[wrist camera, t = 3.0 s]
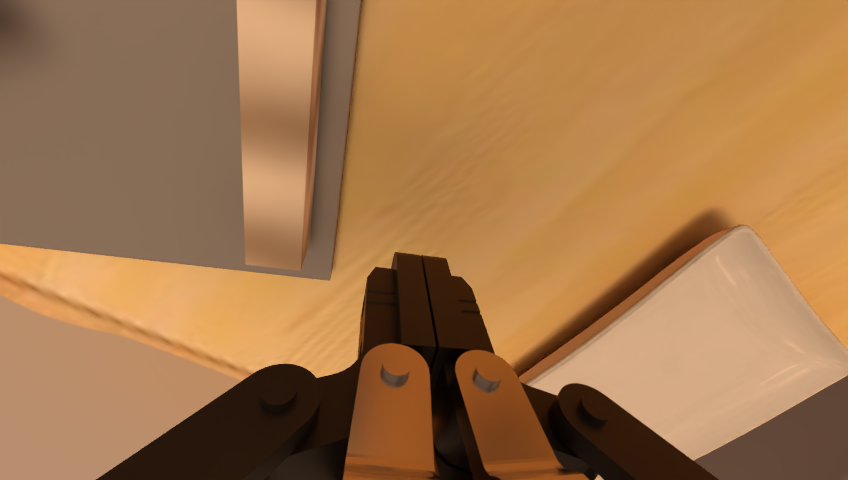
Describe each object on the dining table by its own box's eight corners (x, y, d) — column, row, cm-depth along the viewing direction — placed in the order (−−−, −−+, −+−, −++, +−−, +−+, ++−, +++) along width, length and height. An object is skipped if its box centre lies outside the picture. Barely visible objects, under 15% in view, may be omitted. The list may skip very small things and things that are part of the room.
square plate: (707, 198, 27) (752, 222, 24) (825, 341, 38) (867, 371, 34) (467, 392, 36) (475, 429, 33) (616, 463, 47) (633, 497, 44)
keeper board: (-432, -497, 10) (-1741, -1341, 4) (383, -194, 15) (382, -360, 9) (-66, 221, 22) (-251, 300, 16) (332, 268, 27) (316, 344, 20)
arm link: (244, -192, 13) (195, -268, 10) (350, -156, 14) (340, -214, 11) (252, 236, 23) (229, 273, 19) (317, 245, 23) (306, 282, 20)
